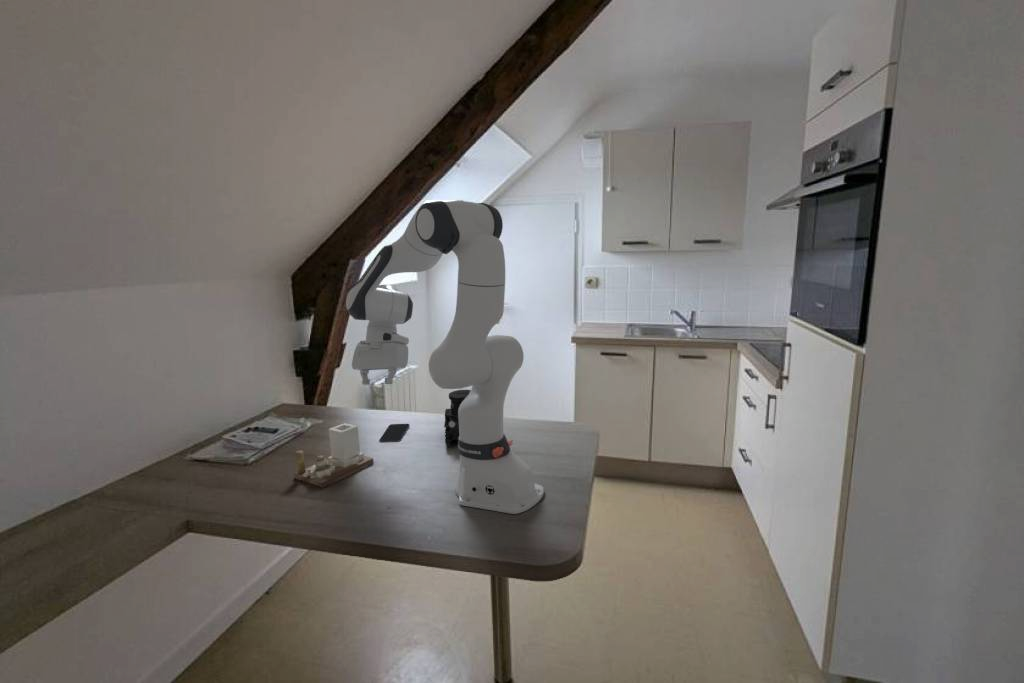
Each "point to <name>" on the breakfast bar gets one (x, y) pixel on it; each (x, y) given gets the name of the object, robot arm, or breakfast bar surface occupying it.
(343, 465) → the white square socket
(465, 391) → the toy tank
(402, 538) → the breakfast bar surface
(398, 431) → the smartphone
